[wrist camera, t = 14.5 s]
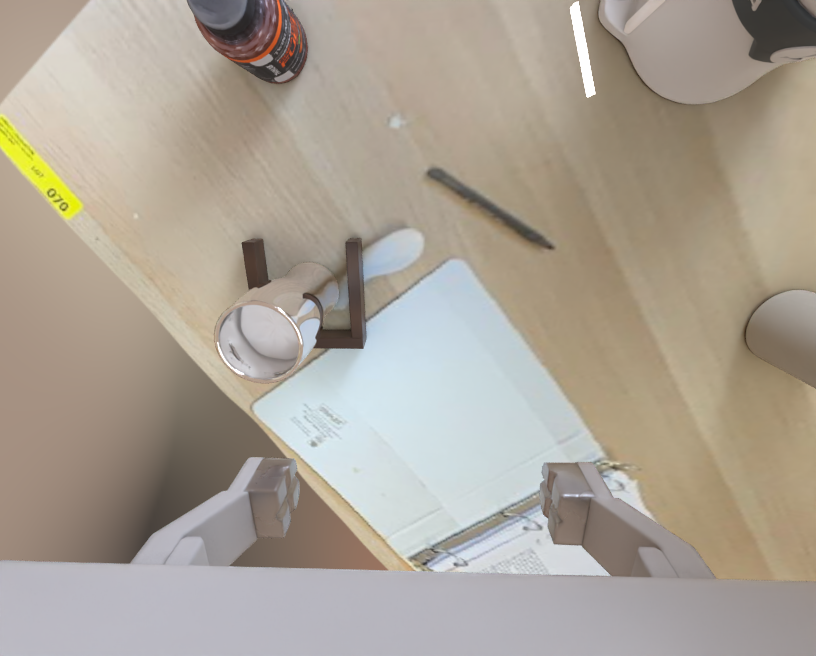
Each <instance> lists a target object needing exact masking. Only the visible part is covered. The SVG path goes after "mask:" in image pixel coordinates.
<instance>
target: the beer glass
mask: <svg viewBox="0 0 816 656" xmlns="http://www.w3.org/2000/svg"><path fill="white" fill-rule="evenodd" d="M338 299H339V285H338V282H337V280H336V278H335V276H334V275H333V273H332V272H331V271H330V270H329V269H327V268H326V267H324V266H323V265H321V264H318V263H314V262H303V263H300V264H297V265H295V266H294V267H292V268H291V269H290V270H289V271H288V272H287V274H286V275H285V277H281V278H276V279H272V280H269V281H266V282H263V283H261V284H259V285H257V286H256V287H254V288H252V289H250V290H249V291H248V292H246V293H245V294H244V295H242V296H241V297H240V298H239V299H238V300H237V301H236V302H234V303H233V304H232V305H231V306H230V307H229V308H227V309H226V310H225V311H224V312H223V313H222V314H221V316H220V317H219V319H218V321H217V323H216V326H215V330H214V342H215V347H216V350H217V352H218V354H219V356H220V358H221V360H222V361H223V363H224V364H225V365H226V366H227V367H228V368H229V369H230V370H231V371H232V372H233V373H235V374H236V375H238V376H240V377H241V378H243V379H246V380H248V381H252V382H256V383H274V382H278V381H281V380H283V379H285V378H287V377H288V376H290V375H291V374H292V373H293V372H294V371H295V370H296V369H297V367H298V366H299V365H300V364H301V363H302V361H303V360H304V359H305V358H306V357H307V356H308V355H309V353H310V352H311V350H312V349H313V348H314V346H315V344H316V343H317V341H318V339H319V337H320V335H321V332H322V329H323V325H324V320H325V315H327V314H328V313H329V312H331V311H332V310H333V309H334V307H335V306H336V304H337V302H338Z"/></svg>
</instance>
